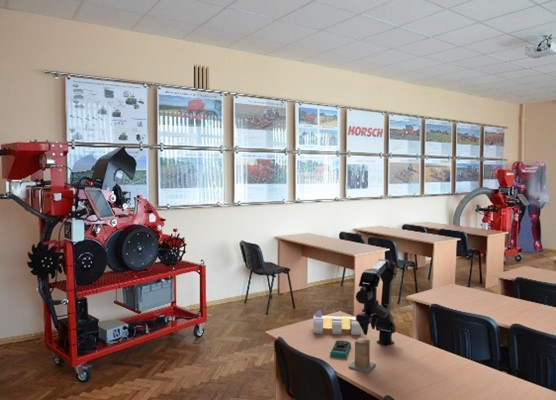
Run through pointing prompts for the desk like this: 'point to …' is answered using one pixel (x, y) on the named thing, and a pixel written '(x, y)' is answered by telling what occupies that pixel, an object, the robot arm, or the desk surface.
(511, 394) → the desk surface
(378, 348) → the desk surface
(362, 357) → the walnut block
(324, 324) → the grey yellow long block
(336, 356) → the digital multimeter
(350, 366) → the grey pad
